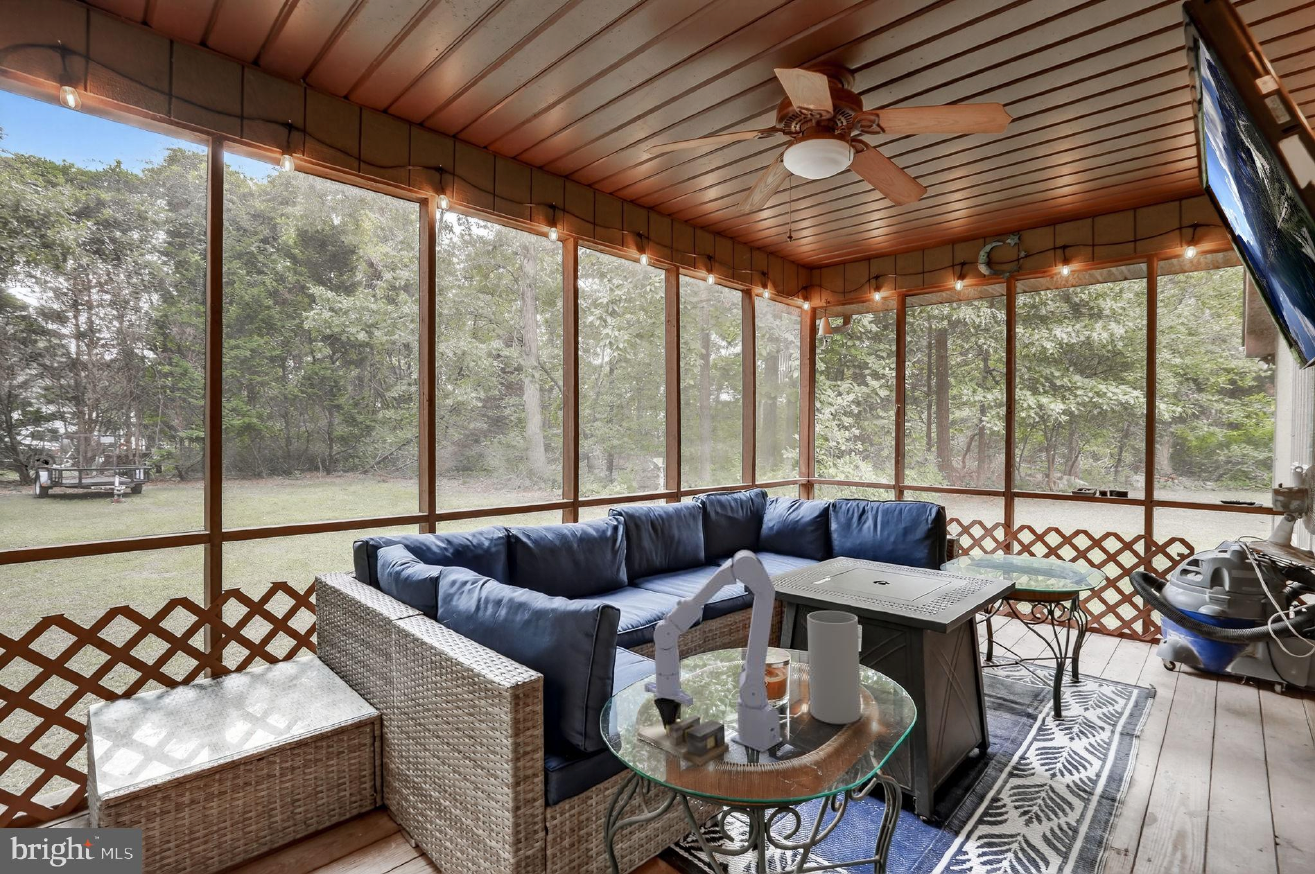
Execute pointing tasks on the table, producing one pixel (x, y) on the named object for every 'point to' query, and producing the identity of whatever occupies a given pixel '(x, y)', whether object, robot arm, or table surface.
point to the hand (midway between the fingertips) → (669, 728)
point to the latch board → (689, 739)
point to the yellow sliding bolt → (709, 741)
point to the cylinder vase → (834, 666)
